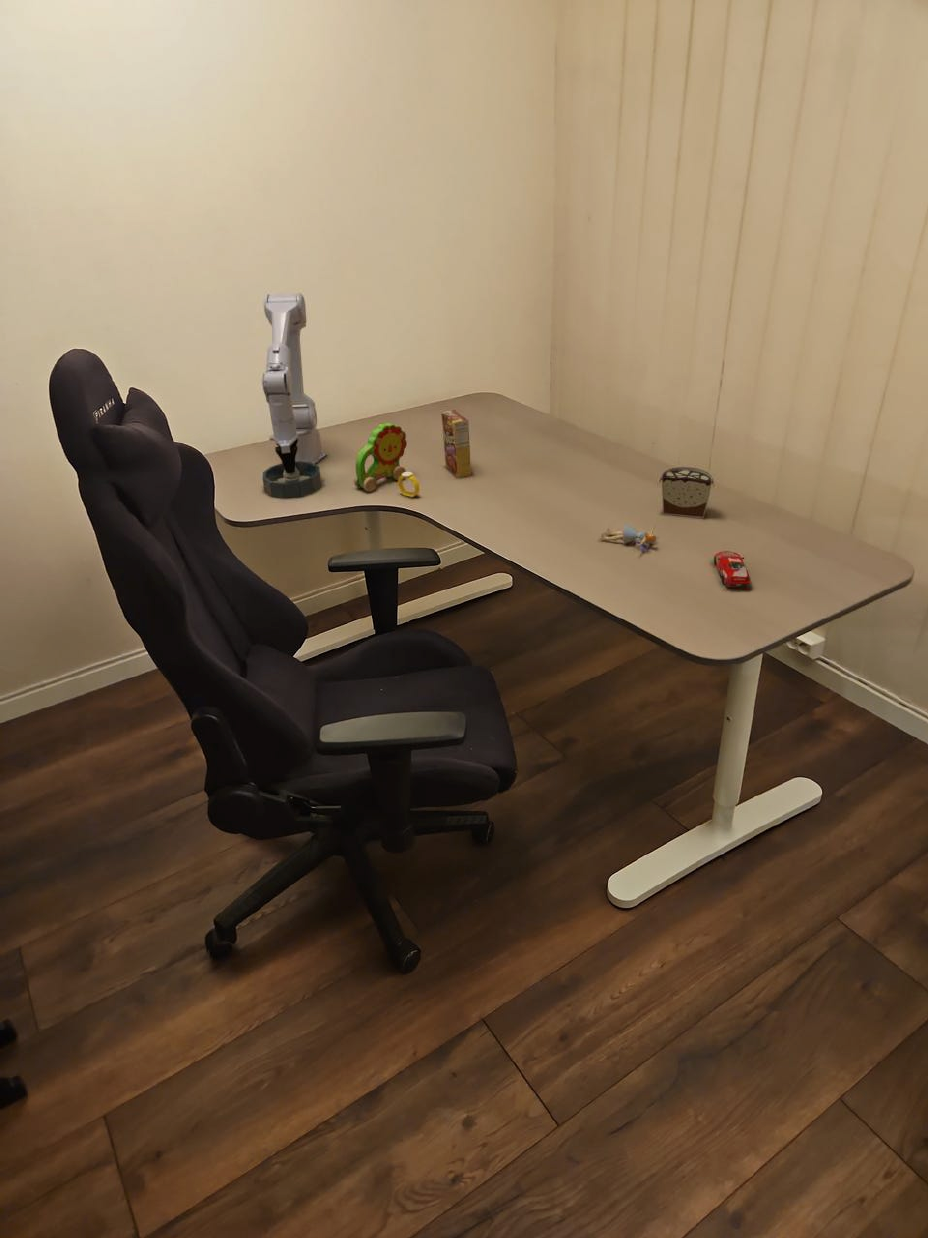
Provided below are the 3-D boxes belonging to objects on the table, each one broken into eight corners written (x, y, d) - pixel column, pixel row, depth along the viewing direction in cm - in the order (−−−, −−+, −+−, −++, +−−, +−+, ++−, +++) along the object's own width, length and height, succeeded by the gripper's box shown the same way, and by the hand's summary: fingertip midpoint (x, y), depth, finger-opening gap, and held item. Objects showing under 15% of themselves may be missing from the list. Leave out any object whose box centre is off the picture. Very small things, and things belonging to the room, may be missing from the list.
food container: (713, 508, 210) (717, 468, 204) (710, 519, 205) (715, 478, 199) (660, 502, 213) (663, 463, 208) (656, 513, 208) (659, 473, 203)
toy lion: (367, 494, 225) (360, 437, 216) (353, 488, 228) (347, 432, 220) (413, 475, 234) (409, 420, 226) (400, 470, 237) (395, 415, 229)
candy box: (443, 466, 238) (440, 411, 230) (458, 463, 239) (456, 409, 231) (456, 478, 231) (453, 422, 223) (471, 475, 232) (469, 419, 224)
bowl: (283, 472, 239) (281, 458, 237) (331, 478, 234) (329, 464, 232) (254, 494, 228) (251, 479, 226) (303, 500, 223) (301, 486, 221)
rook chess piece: (297, 482, 228) (292, 453, 223) (280, 481, 228) (276, 452, 224) (303, 475, 231) (298, 446, 227) (287, 474, 232) (282, 446, 228)
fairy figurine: (614, 513, 201) (665, 518, 195) (615, 532, 204) (665, 537, 197) (593, 533, 193) (645, 539, 187) (594, 553, 195) (645, 559, 189)
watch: (422, 496, 222) (420, 474, 219) (415, 500, 220) (413, 478, 217) (404, 491, 225) (402, 469, 222) (396, 495, 224) (394, 473, 220)
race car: (711, 559, 188) (713, 543, 186) (737, 559, 188) (739, 542, 186) (723, 590, 177) (725, 573, 175) (751, 590, 177) (753, 573, 175)
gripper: (267, 410, 227) (275, 460, 234) (265, 430, 215) (274, 481, 222) (295, 408, 228) (302, 457, 235) (294, 427, 215) (302, 479, 223)
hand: (290, 469), depth 229 cm, fingers closed on rook chess piece, 3 cm apart
